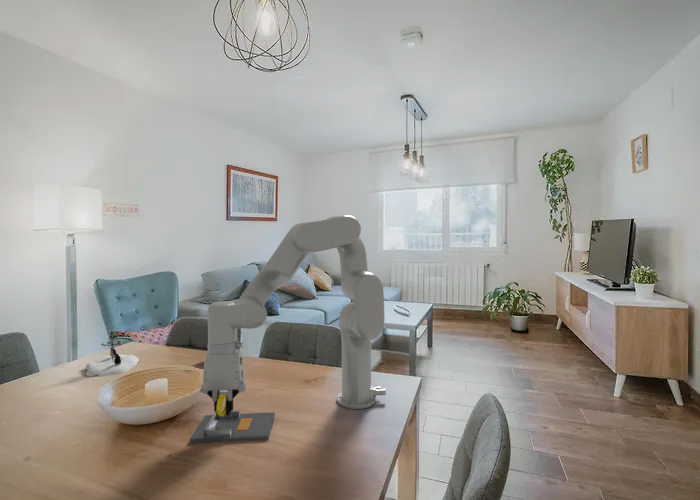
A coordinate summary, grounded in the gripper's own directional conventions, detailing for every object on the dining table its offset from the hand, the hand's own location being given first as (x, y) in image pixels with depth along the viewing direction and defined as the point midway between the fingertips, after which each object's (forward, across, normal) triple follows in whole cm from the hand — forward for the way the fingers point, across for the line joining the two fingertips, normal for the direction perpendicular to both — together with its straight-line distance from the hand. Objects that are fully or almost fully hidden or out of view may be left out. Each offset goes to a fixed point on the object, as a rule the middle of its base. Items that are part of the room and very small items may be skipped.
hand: (223, 412), depth 97 cm
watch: (+1, 0, 0) cm, 1 cm away
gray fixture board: (+5, -3, 0) cm, 6 cm away
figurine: (+5, +59, -52) cm, 79 cm away
